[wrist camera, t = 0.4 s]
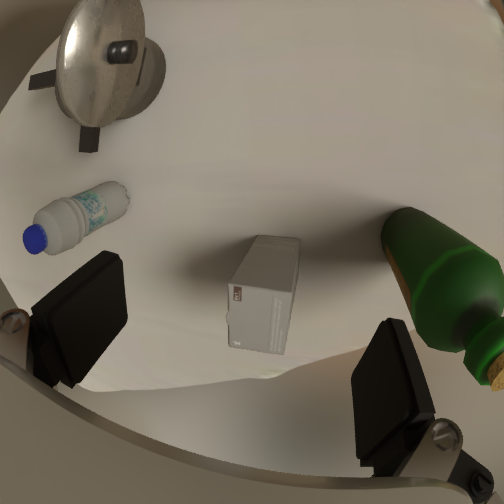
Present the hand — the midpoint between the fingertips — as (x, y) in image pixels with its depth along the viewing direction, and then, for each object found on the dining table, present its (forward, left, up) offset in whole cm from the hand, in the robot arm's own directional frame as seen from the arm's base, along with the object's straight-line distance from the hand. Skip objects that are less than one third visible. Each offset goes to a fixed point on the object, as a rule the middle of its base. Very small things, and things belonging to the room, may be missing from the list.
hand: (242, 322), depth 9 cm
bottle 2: (+3, +19, -31) cm, 36 cm away
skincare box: (+12, +1, -31) cm, 33 cm away
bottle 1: (+8, -26, -31) cm, 41 cm away
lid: (-12, -18, -14) cm, 26 cm away
